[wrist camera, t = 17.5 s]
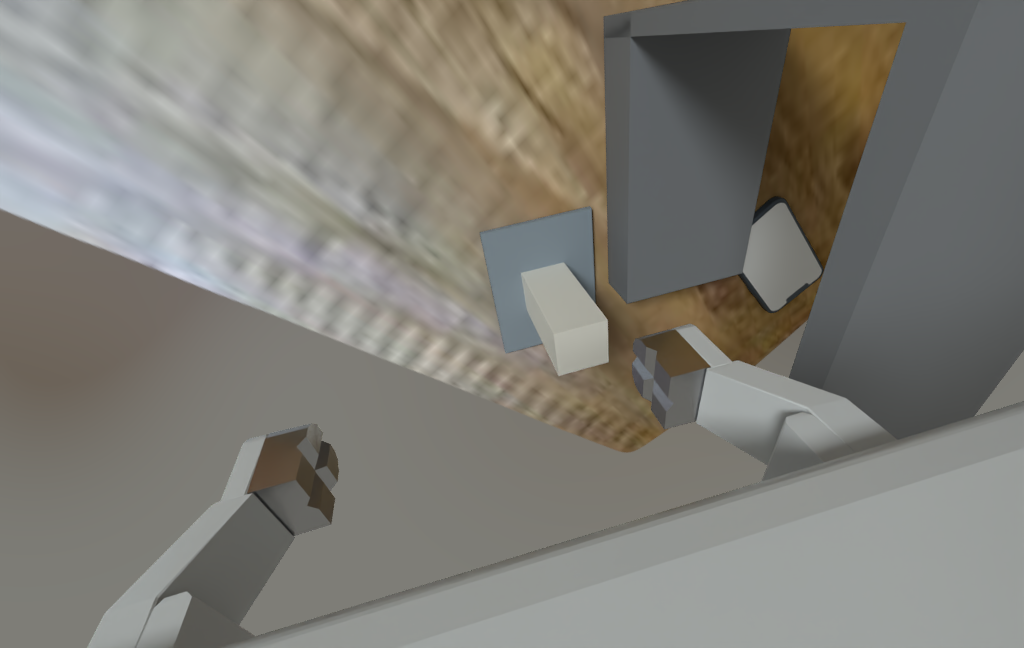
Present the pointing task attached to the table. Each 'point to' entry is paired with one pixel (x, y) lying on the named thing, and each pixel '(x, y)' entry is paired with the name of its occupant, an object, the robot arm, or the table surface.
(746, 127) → the grey c-shaped bracket
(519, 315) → the mat
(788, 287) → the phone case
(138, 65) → the table surface
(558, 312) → the block
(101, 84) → the table surface
